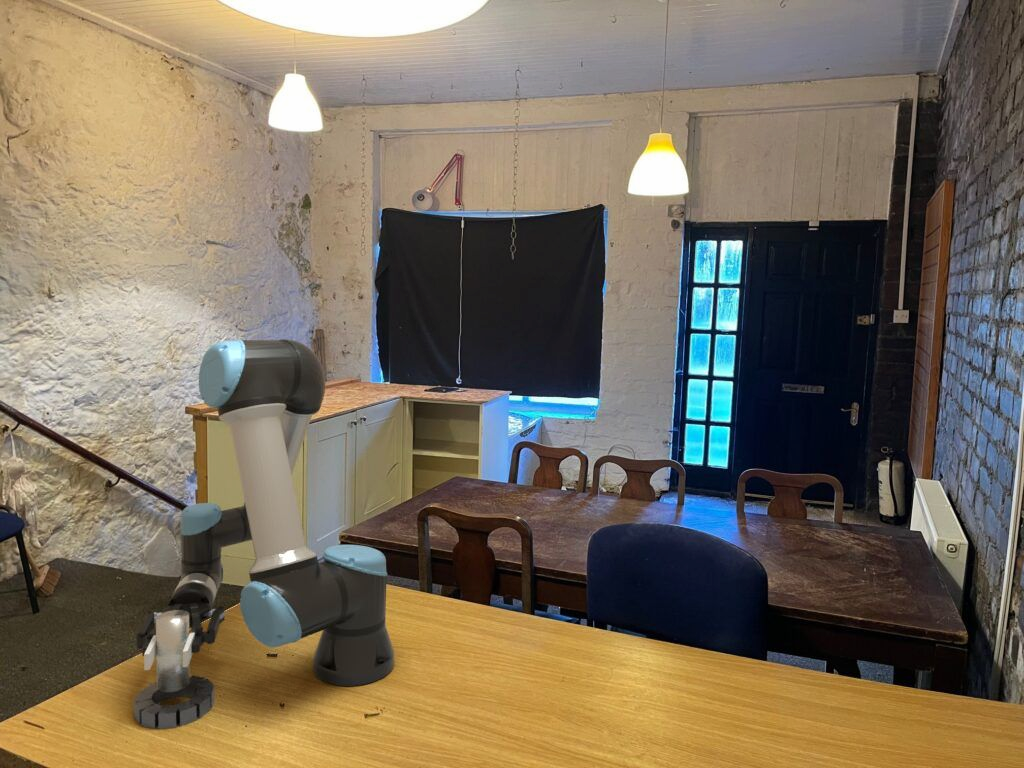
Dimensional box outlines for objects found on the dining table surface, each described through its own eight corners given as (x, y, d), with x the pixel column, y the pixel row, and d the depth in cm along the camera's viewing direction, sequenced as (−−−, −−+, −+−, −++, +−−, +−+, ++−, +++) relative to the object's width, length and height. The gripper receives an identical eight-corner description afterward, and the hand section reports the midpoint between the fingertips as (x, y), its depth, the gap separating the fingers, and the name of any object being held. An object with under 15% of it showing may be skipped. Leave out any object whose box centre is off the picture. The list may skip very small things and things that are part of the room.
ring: (218, 685, 128) (218, 672, 127) (207, 723, 116) (207, 709, 116) (145, 692, 125) (144, 679, 124) (126, 732, 113) (126, 717, 113)
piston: (192, 675, 123) (191, 609, 122) (186, 690, 118) (186, 622, 117) (160, 677, 122) (159, 611, 121) (153, 693, 117) (152, 624, 116)
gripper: (242, 615, 139) (225, 677, 117) (141, 622, 135) (104, 687, 112) (242, 579, 138) (225, 634, 116) (140, 584, 134) (103, 642, 112)
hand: (166, 660), depth 114 cm, fingers closed on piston, 5 cm apart
